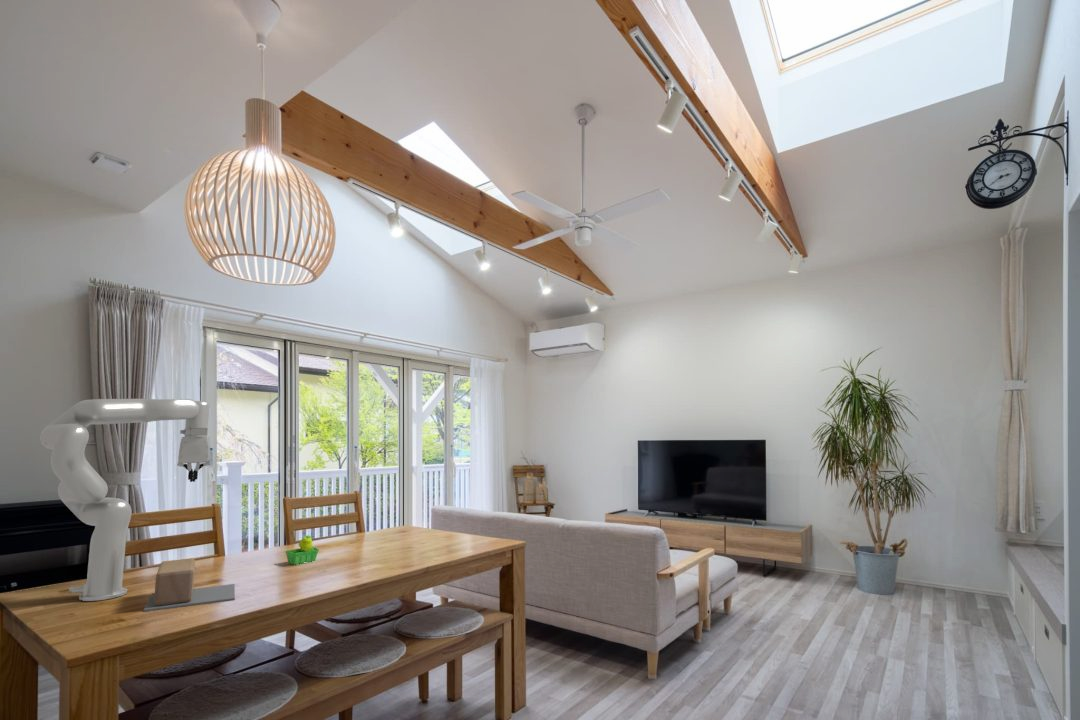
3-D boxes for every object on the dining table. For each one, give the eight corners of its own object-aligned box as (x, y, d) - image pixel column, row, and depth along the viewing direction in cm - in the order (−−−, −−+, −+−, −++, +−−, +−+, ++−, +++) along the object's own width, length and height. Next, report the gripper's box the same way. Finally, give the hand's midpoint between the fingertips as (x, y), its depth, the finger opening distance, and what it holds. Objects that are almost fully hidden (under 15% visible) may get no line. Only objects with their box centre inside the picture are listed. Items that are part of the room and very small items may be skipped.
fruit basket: (309, 559, 239) (311, 531, 241) (321, 561, 234) (322, 533, 235) (283, 563, 231) (285, 535, 232) (294, 566, 225) (296, 537, 227)
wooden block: (158, 592, 187) (153, 607, 170) (160, 560, 189) (156, 573, 172) (193, 587, 192) (191, 602, 175) (195, 557, 194) (194, 569, 177)
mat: (143, 611, 168) (143, 609, 168) (151, 595, 186) (152, 593, 186) (234, 600, 180) (234, 598, 180) (234, 585, 197) (234, 583, 197)
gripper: (172, 433, 210) (168, 483, 207) (218, 433, 217) (214, 481, 214) (174, 433, 216) (170, 481, 214) (218, 433, 223) (215, 480, 221)
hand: (192, 481), depth 214 cm, fingers closed
